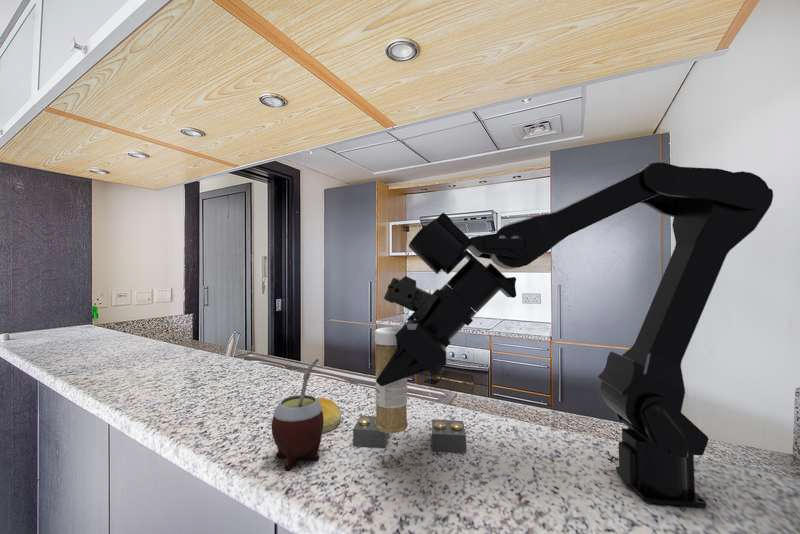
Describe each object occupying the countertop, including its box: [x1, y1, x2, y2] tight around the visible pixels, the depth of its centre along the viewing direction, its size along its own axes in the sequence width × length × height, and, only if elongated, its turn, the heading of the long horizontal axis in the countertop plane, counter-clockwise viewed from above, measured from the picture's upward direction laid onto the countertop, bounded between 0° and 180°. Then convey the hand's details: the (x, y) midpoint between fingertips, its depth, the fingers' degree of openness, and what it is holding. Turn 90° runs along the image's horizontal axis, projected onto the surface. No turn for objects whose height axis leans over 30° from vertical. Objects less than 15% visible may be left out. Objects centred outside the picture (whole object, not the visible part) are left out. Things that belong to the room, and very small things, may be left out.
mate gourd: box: [271, 358, 324, 472], centre depth 46 cm, size 8×8×15 cm
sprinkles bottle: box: [374, 326, 409, 434], centre depth 45 cm, size 5×5×14 cm
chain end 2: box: [431, 418, 467, 454], centre depth 50 cm, size 5×5×3 cm
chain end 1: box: [352, 415, 391, 449], centre depth 51 cm, size 5×5×3 cm
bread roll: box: [315, 397, 342, 434], centre depth 57 cm, size 8×9×4 cm
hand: (381, 378), depth 45 cm, fingers closed on sprinkles bottle, 4 cm apart
